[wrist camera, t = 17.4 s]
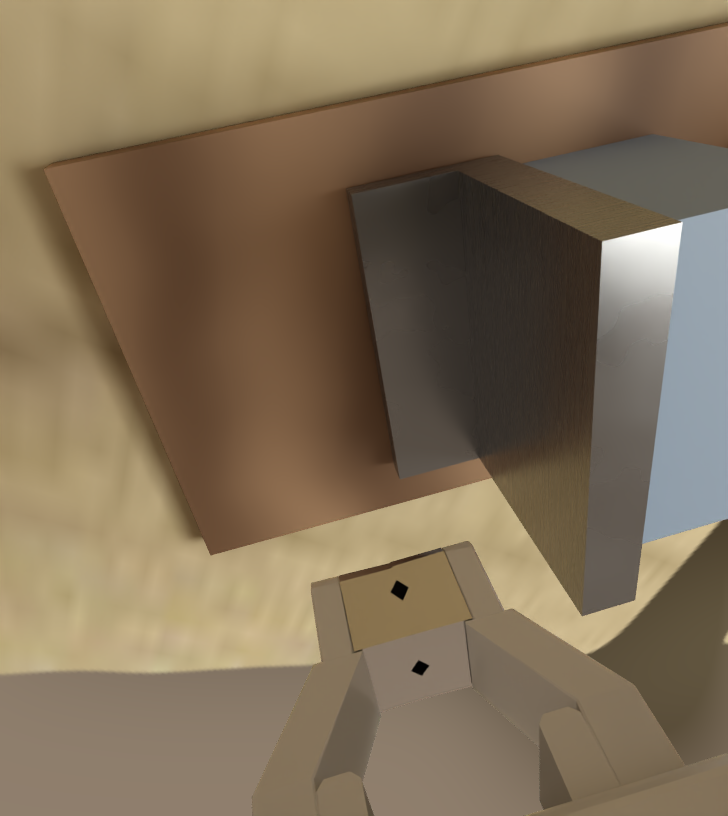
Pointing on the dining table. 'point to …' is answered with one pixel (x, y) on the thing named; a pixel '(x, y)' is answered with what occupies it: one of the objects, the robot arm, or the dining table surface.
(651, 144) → the book
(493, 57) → the dining table surface
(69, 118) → the dining table surface
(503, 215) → the bookend
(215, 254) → the shelf
